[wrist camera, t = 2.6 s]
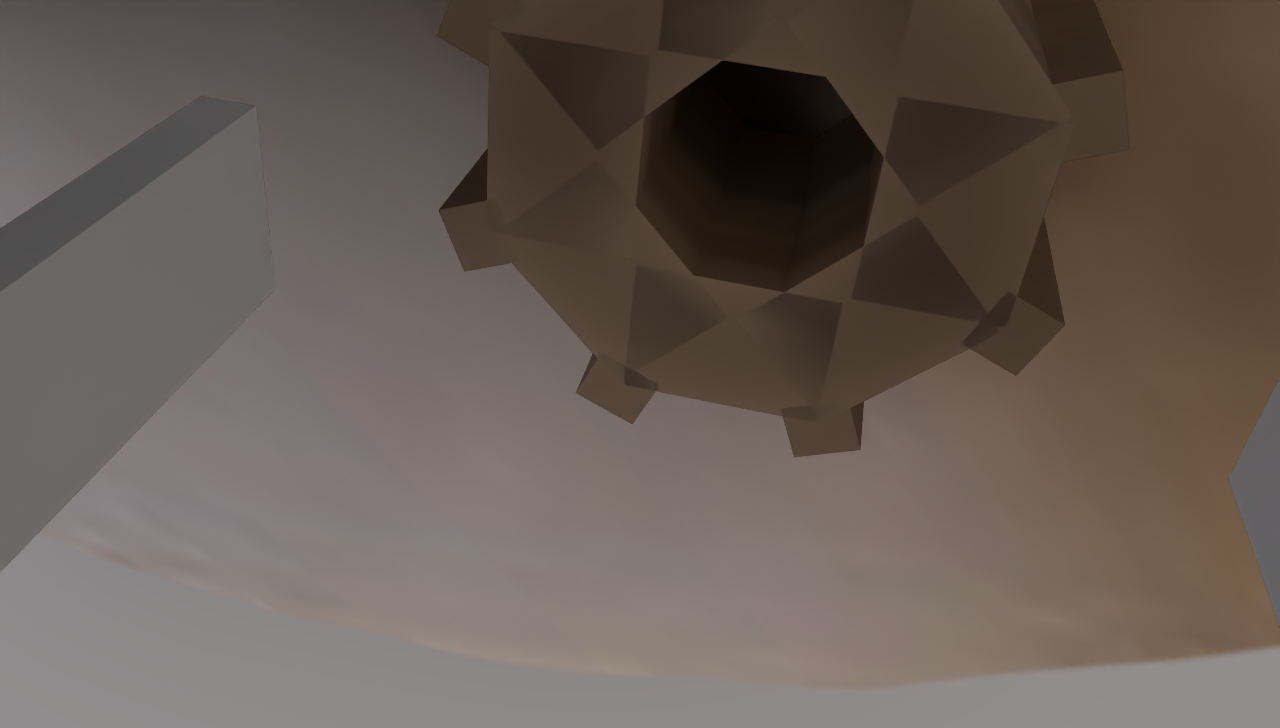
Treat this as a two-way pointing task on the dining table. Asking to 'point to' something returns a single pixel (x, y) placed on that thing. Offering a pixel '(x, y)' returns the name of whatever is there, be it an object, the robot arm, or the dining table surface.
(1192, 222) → the dining table surface
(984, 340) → the gear
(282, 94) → the dining table surface
